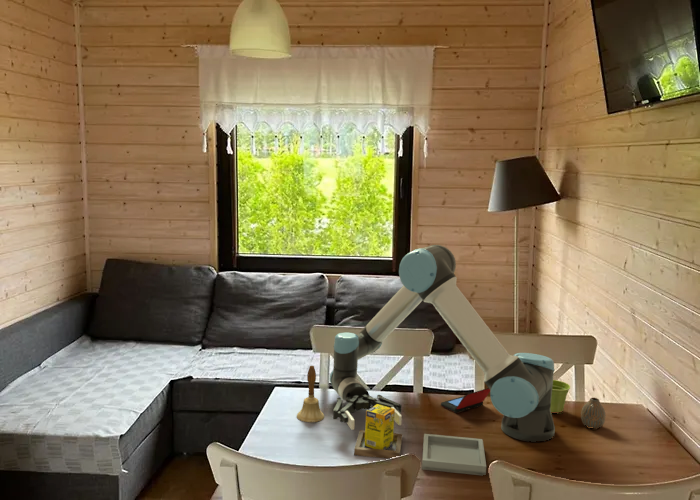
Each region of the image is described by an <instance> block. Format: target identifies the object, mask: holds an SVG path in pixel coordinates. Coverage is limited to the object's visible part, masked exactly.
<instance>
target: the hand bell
mask: <svg viewBox="0 0 700 500" xmlns="http://www.w3.org/2000/svg"><path fill="white" fill-rule="evenodd" d="M306 376H307V377H306V378H307V385H308V397H305V398H304V399H303V404H302V407H301V410H300V411H298V413H297V414H296V418H297V419H298V420H299V421H300V422H304V423H318V421H319V422H321V421H324V419H325V414H324V413H323V412H322V411H321V408H320V402H319V399H318V398H317V397H315V384H316V379H317V372H316V369H315V365H309V367H308V372H307V375H306Z"/></svg>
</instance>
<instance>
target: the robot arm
mask: <svg viewBox="0 0 700 500" xmlns="http://www.w3.org/2000/svg"><path fill="white" fill-rule="evenodd" d="M456 264H457V262H456V257H455V255H454V253H452V251H451V250H450V249H449V248H448V247H446V246H443V245H440V244H432V245H428V246H426V247H422V248H416V249H413V250H412V251H409V252H408V253H407V254H405V255H404V256H403V257H402V259H401V261H400V263H399V268H398V275H399V280H400V282H401V284H402V287H401V288H400V289H398V290H397V292H396V293H395V294H394V295H393V296H392V297H391V298H390V299H389V300H388V302H386V303H385V305H384V306H383V307H382V308H381V309H380V310H379V311H378V312H377V313H376V314H375V316H373V318H372V319H371V320H370V321H369V322H368V323H367V324H366V325H365V326H364V327H363V329H362V330H361V331H360V332H358V333H357V334H356V333H354V332H348V331H347V332H339V333H337V334H336V335H335V336H334V344H333V369H332V370H331V372H330V375H329V382H330V385H331V387H332V389H333V390H334V391H335V393H337V395H338V396H339V397H336V404H335V405H334V408H333V411H332V412H333V413H332V415H333V417H332V418H333V420H337V419H338V418H339V422H340V423H344V424H345V423H346V425H348V427H349V428H350V430H353V431H354V430H355V421H356V420H355V419H354V416H352V415H351V413H355V412H356V411H361V410H368V409H370V408H372V407H373V406H375V405H376V404H379V405H382V406H386V407H389V408H393V409H395V415H394V423H396V424H397V425H398V426H402V421H403V420H402V417H403V416H402V404H401V403H398V402H396V401H393V400H391V399H388V398H387V397H384V396H383V395H381V394H377V396H376V397H373V396H370V393H369V391H368V390H367V389H366V387H365V386H364V385H363V384H362V383H361V381H360V380H359V379H358V378H357V377H358V361H359V360H360V359H362V358H364V357H366V356H369V355H370V354H373V353H375V352H376V351H378V350H379V349H380V348H381V347H382V345H383V342H384V341H385V340H386V339H387V337H389V336H390V334H392V333H393V331H394V330H395V329H397V328H398V327H399V325H401V323H403V321H404V320H405V319H406V318H407V317H408V316H409V315H410V314H411V313H412V312H414V310H415V309H416V308H417V307H418V306H419V305H420V304H421V303H422V301H423V303H428V304H432V305H433V307H434V308H435V310H436V311H437V312H438V313H439V315H440V316H441V318H442V319H443V320H444V321H445V323H446V324H447V325H448V327H449V328H450V329H451V331H452V332H453V334H454V335H455V336H456V337H457V339H458V340H459V341H460V343H461V345H462V346H463V347H464V348H465V349H466V351H467V352H468V353H469V355H470V356H471V358H473V360H474V361H475V362H476V364H477V365H478V367H479V369H480V370H481V371H482V372H483V375H484V377H483V382H484V384H485V385H486V386H487V388H489V389H490V390H491V391H490V392H489V394H490V401H491V403H492V405H493V408H495V410H497V412H499V413H500V414H502V415H503V416H502V419H501V424H500V425H501V426H500V428H501V430H502V432H503V433H504V434H505V435H507V436H509V437H510V438H513V439H516V440H519V441H525V442H529V441H531V442H530V443H537V442H536V441H544V442H546V441H545V440H548V441H550V440H549V439H551V438H552V437H553V436H554V437H555V431H556V430H555V429H556V428H555V424H554V422H555V421H554V417H553V414H552V413H551V410H550V407H551V396H552V386H553V380H554V374H555V361H554V360H553V359H552V358H551V357H548V356H546V355H542V354H539V353H538V354H536V353H531V352H518V353H514V354H513V355H512V354H510V353H509V352H508V351H507V349H506V348H505V347H504V345H503V344H502V343H501V342H500V341H499V339H498V338H497V337H496V335H495V334H494V332H493V331H492V330H491V329H490V327H489V326H488V325H487V324H486V322H485V321H484V319H483V318H482V317H481V316H480V314H479V313H478V312H477V310H476V309H475V308H474V307H473V305H472V304H471V302H470V301H469V300H468V299H467V297H466V296H465V295H464V294H463V292H462V291H461V290H460V288H459V287H458V286H457V280H458V278H457V276H456V274H455V272H456V266H457V265H456ZM554 437H553V438H554ZM553 438H552V439H553ZM552 439H551V440H552Z"/></svg>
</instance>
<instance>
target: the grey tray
mask: <svg viewBox="0 0 700 500" xmlns="http://www.w3.org/2000/svg"><path fill="white" fill-rule="evenodd" d="M483 440H484V438H483V439H482V438H475V437H474V438H473V437H464V436H463V437H462V436H452V435H442V434H431V433H424V434H423V445H422V449H423V450H422V462H421V470H424V471H425V470H427V471H434V472H435V471H436V472H444V473H445V472H446V473H455V474H462V475H463V474H464V475H466V474H467V475H472V476H473V475H475V476H483V475H486V474H487V462H486V455H485V447H484V441H483ZM486 476H487V475H486Z"/></svg>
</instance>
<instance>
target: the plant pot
mask: <svg viewBox="0 0 700 500" xmlns="http://www.w3.org/2000/svg"><path fill="white" fill-rule="evenodd" d="M570 389H571V385H570V384H569V383H567V382H564V381H562V380H558V379H553V386H552V396H551V407H550V410H551V412H561V411H563V412H564V407H565V405H566V404H565V403H566V399H567V394H568V393H569V391H570Z"/></svg>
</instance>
